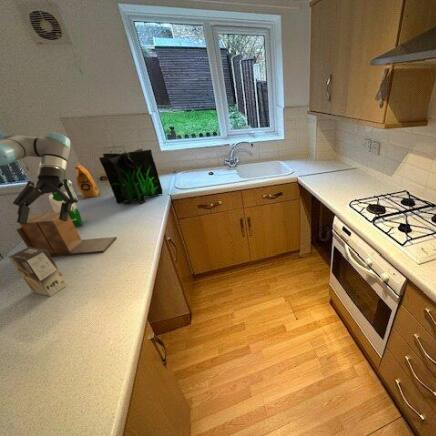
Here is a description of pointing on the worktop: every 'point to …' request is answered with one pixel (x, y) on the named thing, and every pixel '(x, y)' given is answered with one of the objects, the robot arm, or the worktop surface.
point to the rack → (59, 236)
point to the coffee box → (39, 270)
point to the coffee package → (85, 182)
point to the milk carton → (74, 213)
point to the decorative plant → (132, 175)
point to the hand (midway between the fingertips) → (42, 221)
